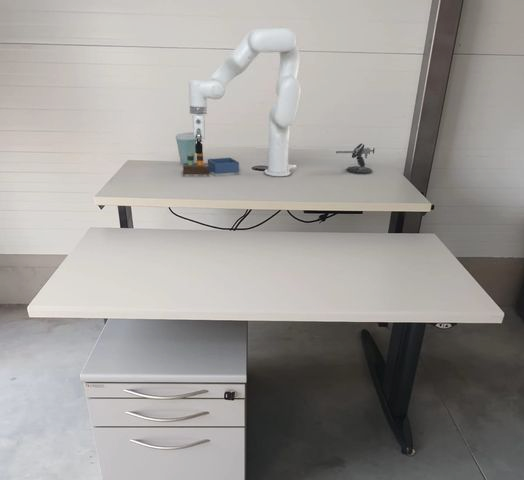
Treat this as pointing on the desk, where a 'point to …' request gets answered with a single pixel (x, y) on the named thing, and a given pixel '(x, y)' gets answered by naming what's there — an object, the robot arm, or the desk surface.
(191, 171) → the rack
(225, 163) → the tote
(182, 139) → the cup of blue liquid
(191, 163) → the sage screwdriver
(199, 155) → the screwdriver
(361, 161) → the gun turret
